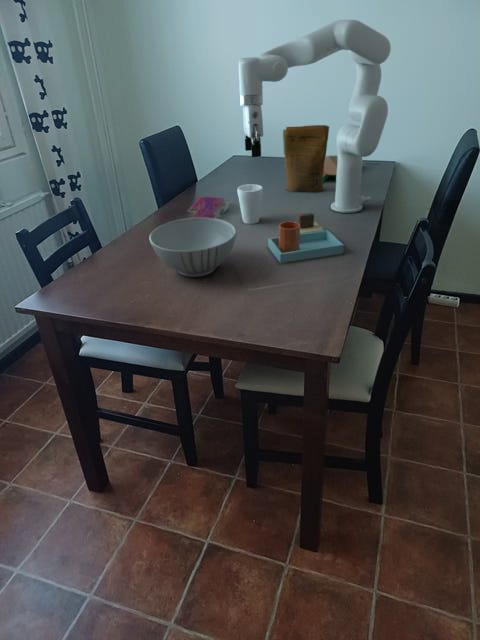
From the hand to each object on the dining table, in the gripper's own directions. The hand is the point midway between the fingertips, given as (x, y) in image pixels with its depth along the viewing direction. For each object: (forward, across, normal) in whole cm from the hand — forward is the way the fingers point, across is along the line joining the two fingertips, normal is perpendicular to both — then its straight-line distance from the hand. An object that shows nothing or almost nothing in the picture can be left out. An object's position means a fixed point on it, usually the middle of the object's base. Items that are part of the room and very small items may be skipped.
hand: (253, 153), depth 166 cm
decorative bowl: (+27, -29, +27) cm, 48 cm away
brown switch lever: (+24, -15, -15) cm, 32 cm away
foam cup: (+27, +6, 0) cm, 28 cm away
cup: (+26, -28, -5) cm, 38 cm away
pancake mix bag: (+27, +33, -31) cm, 53 cm away
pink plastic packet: (+27, +17, +16) cm, 36 cm away
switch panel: (+27, -15, -14) cm, 34 cm away
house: (+27, +55, -51) cm, 79 cm away
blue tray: (+27, -27, -10) cm, 40 cm away
